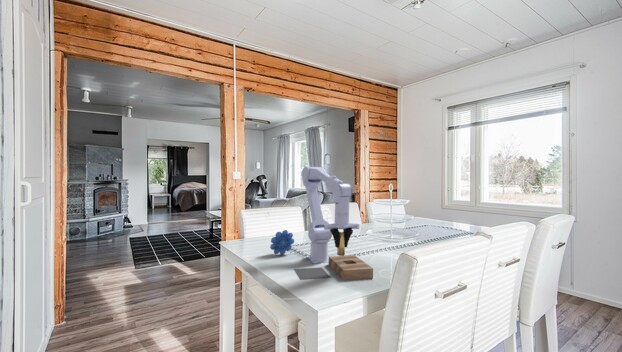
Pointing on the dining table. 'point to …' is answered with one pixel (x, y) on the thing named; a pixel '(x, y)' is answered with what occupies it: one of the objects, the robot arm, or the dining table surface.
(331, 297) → the dining table surface
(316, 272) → the rubber mat
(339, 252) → the brass pin
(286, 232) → the blue thick lobed disc
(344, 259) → the walnut block
